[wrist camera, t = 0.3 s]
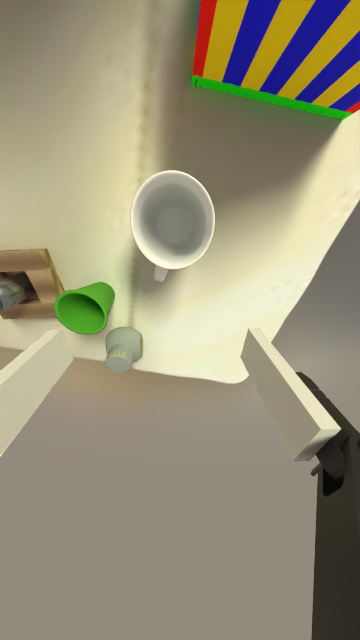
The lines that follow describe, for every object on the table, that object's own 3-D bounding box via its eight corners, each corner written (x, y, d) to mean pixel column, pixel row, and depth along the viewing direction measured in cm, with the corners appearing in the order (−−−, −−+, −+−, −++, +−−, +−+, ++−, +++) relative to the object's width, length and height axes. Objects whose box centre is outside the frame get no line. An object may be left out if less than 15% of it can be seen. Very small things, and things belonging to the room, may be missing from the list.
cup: (97, 264, 35) (69, 279, 26) (131, 292, 39) (117, 314, 29) (76, 292, 38) (44, 314, 29) (109, 315, 42) (90, 342, 32)
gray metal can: (10, 273, 35) (-43, 289, 26) (33, 272, 35) (-12, 287, 26) (23, 295, 38) (-22, 315, 29) (44, 294, 38) (6, 314, 29)
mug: (184, 278, 37) (189, 302, 26) (137, 264, 35) (120, 282, 24) (209, 203, 30) (231, 191, 19) (152, 180, 28) (137, 150, 17)
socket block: (-22, 251, 33) (-42, 254, 30) (46, 248, 33) (34, 251, 30) (16, 312, 40) (3, 319, 37) (72, 309, 40) (64, 316, 37)
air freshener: (110, 321, 43) (94, 346, 34) (141, 322, 43) (133, 347, 34) (116, 353, 48) (103, 381, 39) (144, 353, 49) (138, 381, 40)
